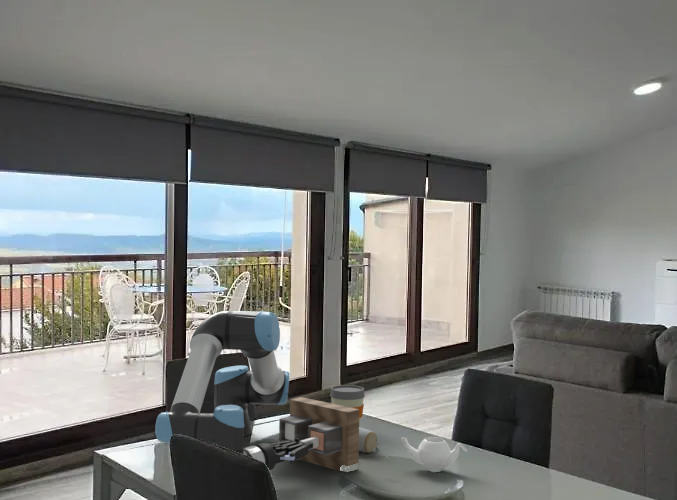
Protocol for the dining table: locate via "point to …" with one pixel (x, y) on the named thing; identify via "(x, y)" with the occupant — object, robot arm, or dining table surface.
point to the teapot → (433, 452)
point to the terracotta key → (321, 438)
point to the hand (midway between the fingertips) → (316, 441)
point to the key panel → (325, 431)
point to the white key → (289, 431)
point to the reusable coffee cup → (348, 397)
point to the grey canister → (367, 440)
